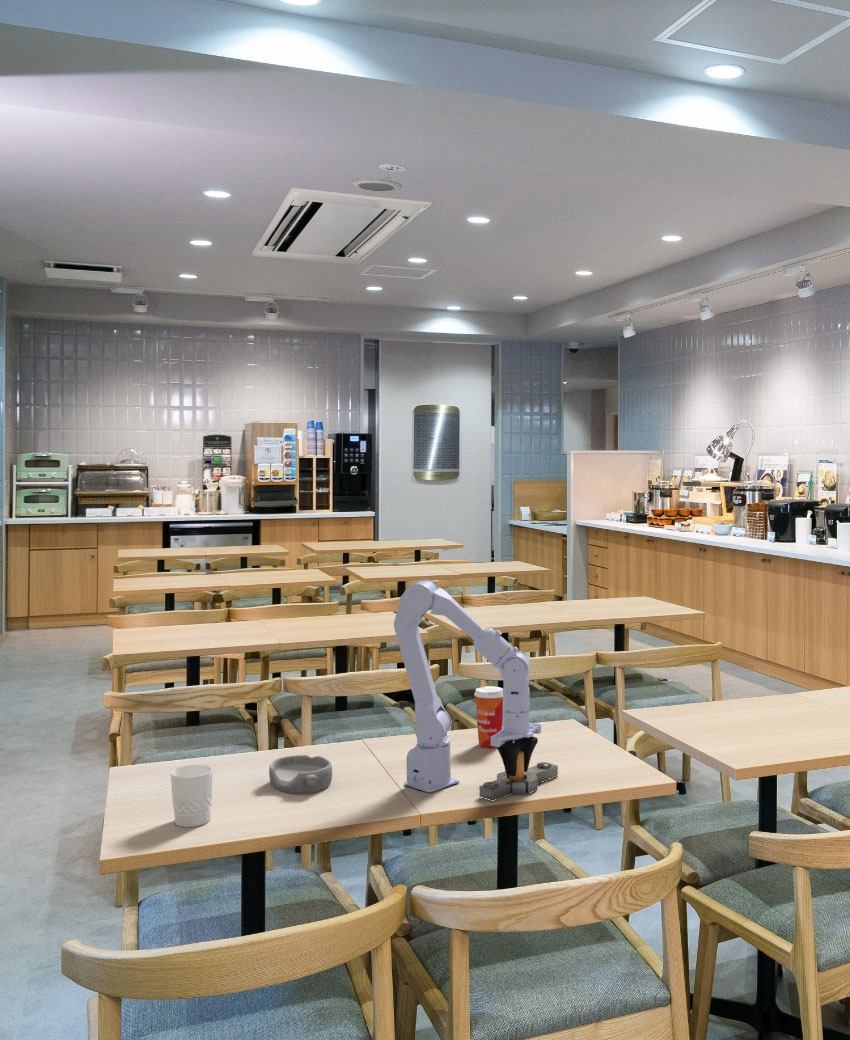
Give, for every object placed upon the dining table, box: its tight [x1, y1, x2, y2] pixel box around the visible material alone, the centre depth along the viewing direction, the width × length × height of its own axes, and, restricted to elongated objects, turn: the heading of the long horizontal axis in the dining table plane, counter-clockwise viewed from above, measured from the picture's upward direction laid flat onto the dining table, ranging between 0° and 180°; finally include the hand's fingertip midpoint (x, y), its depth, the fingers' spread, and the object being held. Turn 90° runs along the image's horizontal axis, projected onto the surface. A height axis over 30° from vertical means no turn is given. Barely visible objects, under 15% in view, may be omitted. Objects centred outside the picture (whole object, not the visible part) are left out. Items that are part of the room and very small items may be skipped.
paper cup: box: [473, 685, 503, 749], centre depth 226 cm, size 8×8×14 cm
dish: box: [268, 754, 333, 795], centre depth 199 cm, size 14×14×5 cm
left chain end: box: [478, 779, 538, 800], centre depth 193 cm, size 14×8×3 cm, turn 135°
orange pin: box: [509, 751, 524, 780], centre depth 195 cm, size 3×3×7 cm
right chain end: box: [496, 761, 559, 789], centre depth 197 cm, size 16×8×3 cm, turn 135°
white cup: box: [170, 764, 213, 828], centre depth 178 cm, size 8×8×10 cm
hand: (516, 772), depth 195 cm, fingers open, 3 cm apart
